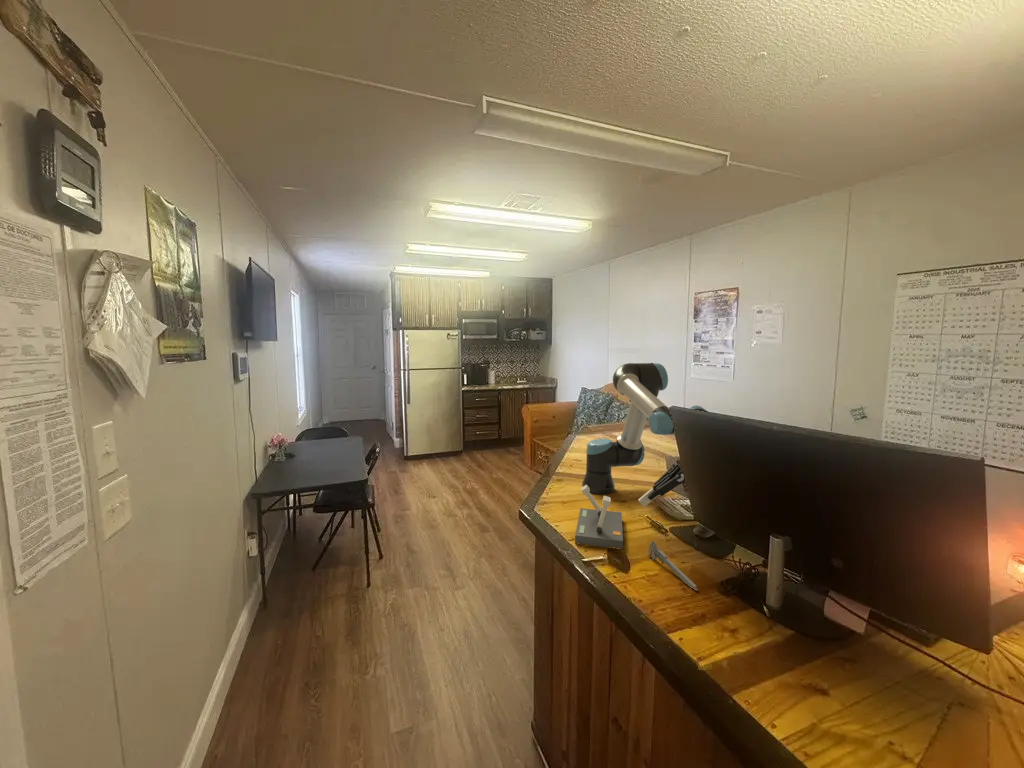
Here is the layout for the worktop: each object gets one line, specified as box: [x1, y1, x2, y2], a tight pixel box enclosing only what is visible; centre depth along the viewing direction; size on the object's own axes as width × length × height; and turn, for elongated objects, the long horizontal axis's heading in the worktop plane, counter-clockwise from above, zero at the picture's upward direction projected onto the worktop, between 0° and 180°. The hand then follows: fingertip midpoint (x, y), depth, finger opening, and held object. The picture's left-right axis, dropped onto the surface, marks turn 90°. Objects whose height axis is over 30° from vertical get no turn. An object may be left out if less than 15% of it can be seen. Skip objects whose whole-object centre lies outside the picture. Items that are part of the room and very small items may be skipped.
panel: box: [574, 507, 624, 550], centre depth 151 cm, size 24×16×3 cm, turn 166°
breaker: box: [580, 485, 602, 516], centre depth 158 cm, size 4×2×12 cm
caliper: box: [647, 540, 698, 591], centre depth 123 cm, size 20×1×6 cm, turn 21°
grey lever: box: [597, 495, 612, 533], centre depth 143 cm, size 4×2×12 cm, turn 166°
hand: (641, 503), depth 138 cm, fingers closed
